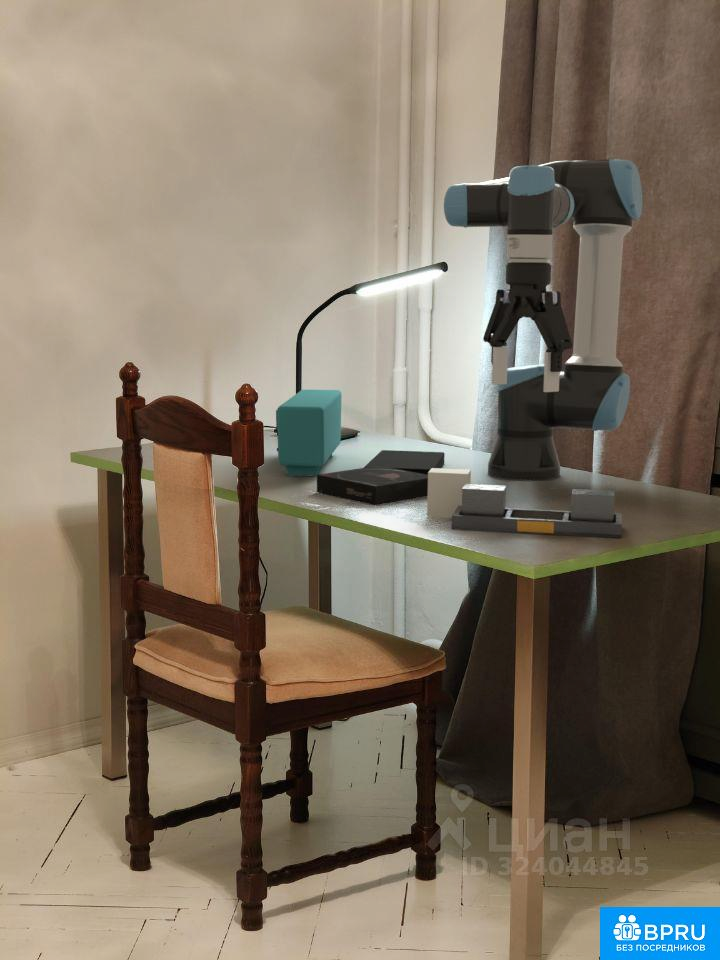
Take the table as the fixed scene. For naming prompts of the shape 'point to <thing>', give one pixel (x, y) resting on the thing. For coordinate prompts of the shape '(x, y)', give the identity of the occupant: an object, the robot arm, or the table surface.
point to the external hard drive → (408, 460)
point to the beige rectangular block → (445, 490)
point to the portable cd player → (374, 485)
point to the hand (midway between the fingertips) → (524, 388)
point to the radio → (308, 430)
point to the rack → (538, 514)
